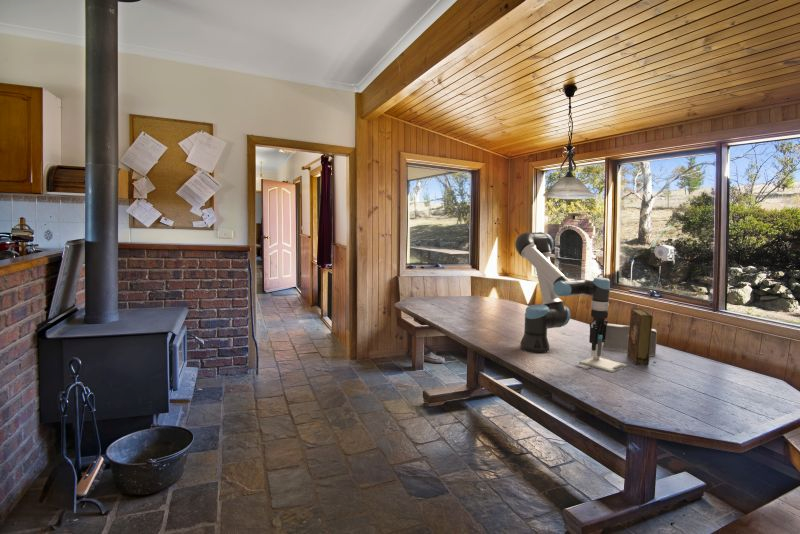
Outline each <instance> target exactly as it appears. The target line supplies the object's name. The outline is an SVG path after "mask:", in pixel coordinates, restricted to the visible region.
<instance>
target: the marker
mask: <svg viewBox="0 0 800 534" xmlns="http://www.w3.org/2000/svg"><path fill="white" fill-rule="evenodd" d="M602 343H603V342H602V335H598V340H597V344H598V350H597V357H593V356H592V357H593V359H595V360H599V359H600V357H601V356H602V355H601V348H602V349H603V344H602Z"/></svg>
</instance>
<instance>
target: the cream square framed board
mask: <svg viewBox="0 0 800 534" xmlns="http://www.w3.org/2000/svg"><path fill="white" fill-rule="evenodd" d="M579 364H583V365H586V366H590V367H591V366H592V368H596V369H599V370H602V371H605V372H610V373H614V372H617V371H619V370H622V369H624V368H626V367H628V364H627V363H623V362H619V361H615V360H612V359H608V358H603V357H601V356H600V359H599V360H595V359H593V356H591V357H589V358H586V359H584V360H583V359H582V360H581V361H579ZM621 368H622V369H621Z"/></svg>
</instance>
